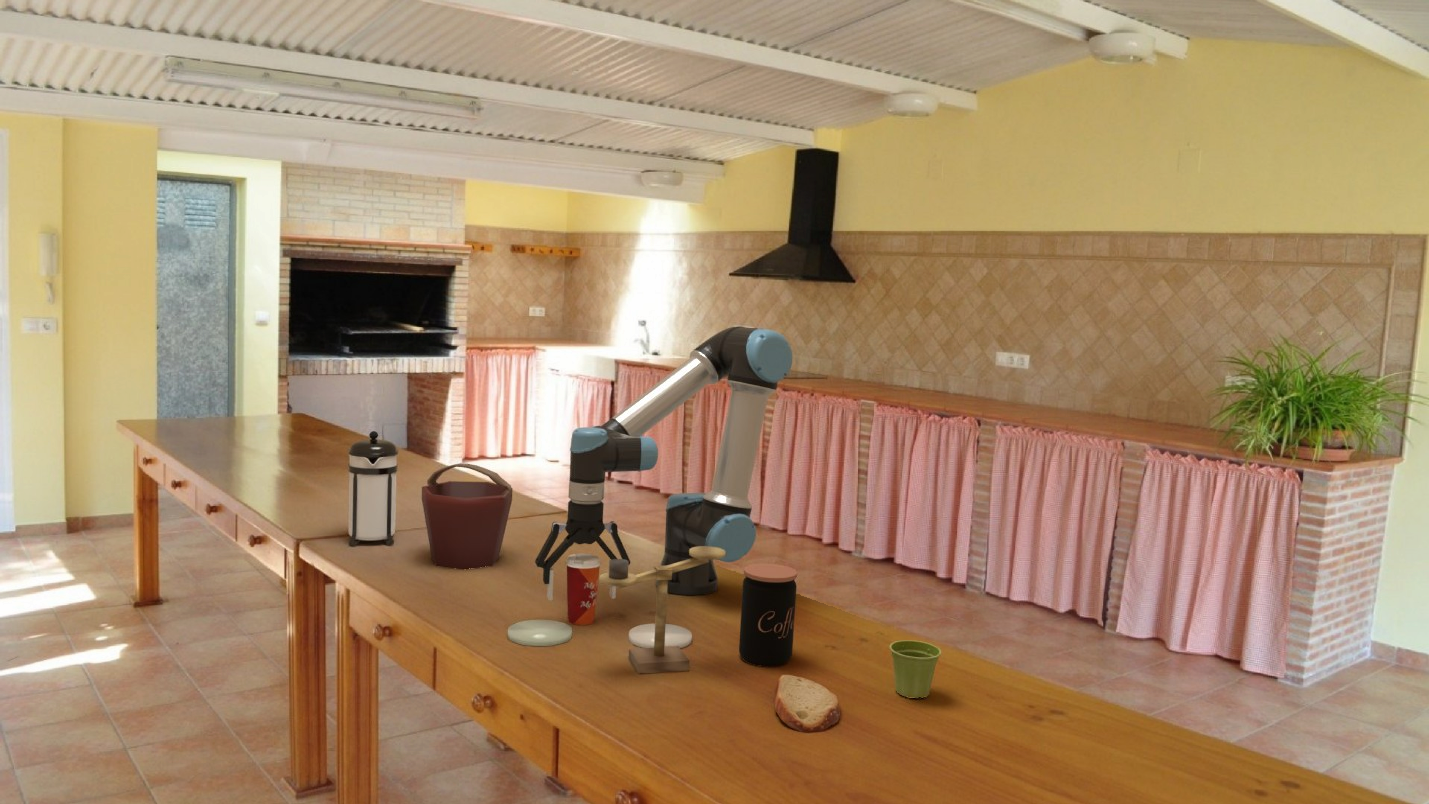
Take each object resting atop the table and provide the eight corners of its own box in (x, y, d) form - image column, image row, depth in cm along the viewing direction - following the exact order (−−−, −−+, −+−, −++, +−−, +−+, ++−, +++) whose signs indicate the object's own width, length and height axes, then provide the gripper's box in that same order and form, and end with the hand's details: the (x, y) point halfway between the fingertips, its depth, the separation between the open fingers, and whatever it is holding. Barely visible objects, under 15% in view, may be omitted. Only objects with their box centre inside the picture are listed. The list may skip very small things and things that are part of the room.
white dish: (681, 627, 224) (682, 622, 224) (699, 648, 212) (699, 642, 212) (622, 630, 220) (622, 625, 220) (636, 651, 208) (637, 646, 208)
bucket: (528, 564, 268) (532, 467, 265) (456, 579, 251) (459, 476, 248) (470, 545, 283) (472, 454, 280) (398, 558, 266) (400, 461, 264)
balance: (712, 653, 209) (718, 545, 207) (724, 668, 202) (731, 555, 199) (592, 660, 202) (596, 548, 199) (600, 676, 194) (605, 559, 192)
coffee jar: (755, 670, 201) (760, 580, 199) (728, 652, 211) (733, 565, 209) (802, 664, 206) (807, 575, 204) (774, 646, 216) (779, 561, 214)
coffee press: (415, 540, 285) (417, 431, 282) (367, 551, 271) (369, 437, 268) (372, 529, 294) (374, 424, 291) (324, 539, 281) (326, 429, 277)
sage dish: (566, 623, 223) (566, 618, 222) (576, 644, 210) (577, 638, 210) (504, 626, 219) (504, 621, 219) (511, 648, 206) (511, 642, 206)
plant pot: (927, 708, 188) (930, 661, 187) (878, 695, 192) (881, 649, 192) (945, 692, 195) (948, 647, 194) (897, 680, 200) (901, 636, 199)
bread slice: (790, 681, 198) (791, 662, 197) (870, 710, 186) (872, 690, 186) (728, 706, 184) (729, 686, 184) (810, 739, 173) (812, 718, 172)
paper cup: (592, 628, 221) (595, 563, 219) (557, 624, 222) (560, 560, 221) (603, 617, 228) (606, 554, 227) (570, 613, 230) (572, 551, 228)
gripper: (529, 504, 215) (525, 604, 217) (647, 504, 222) (641, 600, 225) (524, 497, 222) (520, 594, 224) (639, 496, 230) (633, 590, 232)
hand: (581, 597), depth 224 cm, fingers open, 13 cm apart
